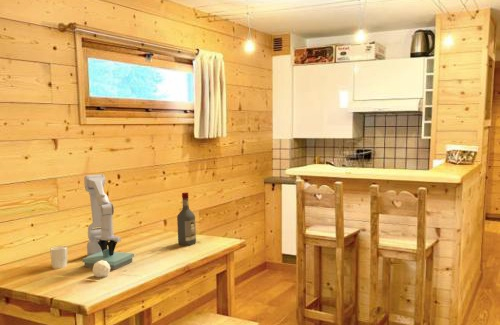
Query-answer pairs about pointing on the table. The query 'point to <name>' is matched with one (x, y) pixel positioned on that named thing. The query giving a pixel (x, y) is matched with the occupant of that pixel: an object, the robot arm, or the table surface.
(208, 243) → the table surface
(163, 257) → the table surface
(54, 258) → the white cup
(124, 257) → the lid
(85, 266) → the tub
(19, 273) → the table surface
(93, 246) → the robot arm
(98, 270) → the ball
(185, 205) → the liquor
